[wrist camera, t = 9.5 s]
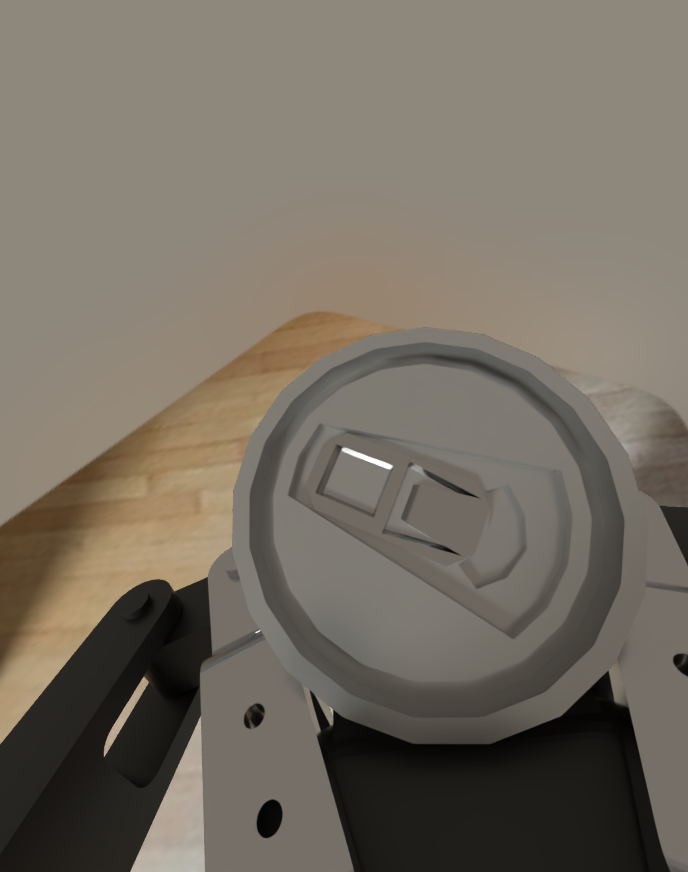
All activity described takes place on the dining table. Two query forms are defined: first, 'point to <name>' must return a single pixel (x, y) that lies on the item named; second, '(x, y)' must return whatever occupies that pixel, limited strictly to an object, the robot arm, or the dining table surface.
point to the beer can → (440, 536)
